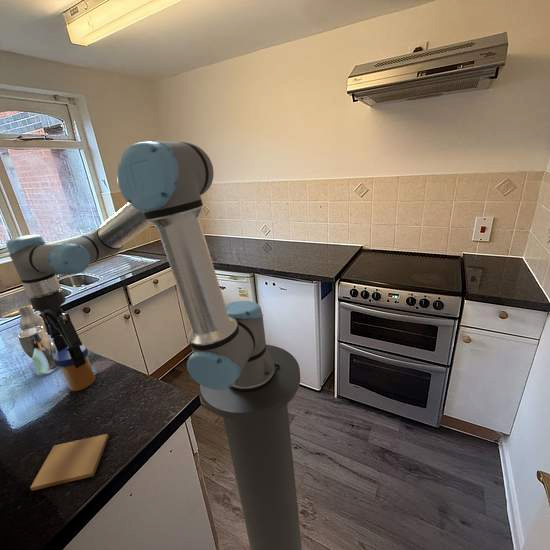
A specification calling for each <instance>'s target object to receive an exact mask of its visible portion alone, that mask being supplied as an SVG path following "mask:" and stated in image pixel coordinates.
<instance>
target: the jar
mask: <svg viewBox="0 0 550 550" xmlns="http://www.w3.org/2000/svg"><path fill="white" fill-rule="evenodd" d="M84 359H85V361H86V364H84V365H82V366H80V367H78V368H75V366H74V365H71V366H67V367H59V370H60V371H61V373H62V376H63V378H64V380H65V383H66V385H67V388H68V389H69V391H71V392H78V391H82V390H84V389H86V388H89V387H90V386H91V385H92V384H94V383H95V381H96V379H97V378H96V374H95V372H94V370H93V366H92V364H91V362H90V358H89V356H88V355H87V356H86V357H85V358H84Z"/></svg>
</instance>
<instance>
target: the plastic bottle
mask: <svg viewBox="0 0 550 550" xmlns="http://www.w3.org/2000/svg"><path fill="white" fill-rule="evenodd" d="M18 313H19V316H20V320H19V328H20V329H21V332H22V331H24V330H26V329H29V328H32V327H36V326H42V327H43V329H44V331H45V332H46V334H47V331H46V328H45V325H44V322H43V318H42V315H39V314H37V313H35V310H34V309H33V307H32V305H28V306H27V305H26V306H23V307H21V308H19V309H18ZM47 336H48V338H49V341H50V344H51V350H52V355H53V357H54V356H55V355H56V354H57V349H56V347H55V344H54V343H53V342H52V341H51V339H50V337H49V335H48V334H47Z"/></svg>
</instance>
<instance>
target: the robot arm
mask: <svg viewBox="0 0 550 550" xmlns="http://www.w3.org/2000/svg"><path fill="white" fill-rule="evenodd" d="M214 175H215V173H214V167H213V162H212V161H211V158H210V156H209V155H208V154H207V153H206V152H205V151H204V149H203V148H201V147H200V146H198V145H196V144H194V143H190V142H186V141H181V142H180V141H179V142H176V141H164V140H163V141H162V140H161V141H160V140H155V139H154V140H147V141H139V142H136V143H133V144H132V145H129V146H128V147H126V149H125V150H124V151H123V153H121V156H120V160H119V162H118V164H117V169H116V180H117V185H118V188H119V192H120V193H121V195H122V197H123V198H124V200H125V201H126V202H127V203H126V204H125V205H124V206H123V207H121V208H120V209H119V210H118V211H117V212H115V213H114V214H113V215H112V216H110V217H109V218H108V219H106V220H105V221H104V222H103V223H102V224H101V225H100V226H99V227H97V228H96V229H95V230H94V231H92V232H90V233H87V234H84V235H80V236H78V237H74V238H71V239H67V240H64V241H61V242H58V243H46V241H45V239H44V237H43V236H41V235H40V234H27V235H22V236H17V237H14V238H10V239H8V240H7V241H6V248H7V250H8V253H9V257H10V259H11V262H12V264H13V265H14V268H15V271H16V272H17V274H18V276H19V279H20V280H21V285H22V287H23V289H24V291H25V294H26V296H27V297H29V298H28V299H29V302H30V304H31V305H30V306H32V308H33V310H34V311H36V312H40V316H41V317H42V318H43V322H44V326H45V330H46V333H47V335H48V336H50V338H51V339H52V343H53V345H54V347H55V349H56V352H57V353H58V352H59V351H61V350H62V349H64V348H67V347H68V349H66V350H67V351H69V354H70V356H71V358H72V361H73V363H74V366H75V368H78V367H80V366H82V365H84V364H86V361H85V359H84V356H83V353H82V351H81V348H80V346H81V345H82V344H83V342H82V340H81V338H80V337H79V334H78V332H77V330H76V328H75V326H74V323H73V322H72V319H71V317H70V314H69V313H68V312H65V310H64V309H63V308H61V306H62V305H63V304H64V303H66V300H67V298H66V296H65V293H64V289H62V287H61V284H60V281H59V280H60V275H64V276H65V275H66V276H67V275H68V276H70V275H78V274H81V273H83V272H84V271H85V270H87V268H88V267H89V265H90V264H93V263H95V262H97V261H99V260H102V259H105V258H107V257H109V256H113V255H115V254H117V253H119V252H121V251H122V250H123V248H124V245H125V244H127V243H128V242H130V241H131V240H132V239H134V238H135V237H137V236H138V235H139V234H141V233H142V232H143V231H145V230H146V229H147V228H150V226H151V225H152V226H154V227H155V228H156V231H157V232H158V236H159V238H160V241H161V244H162V247H163V249H164V253H165V255H166V259H167V261H168V264H169V267H170V270H171V273H172V275H173V278H174V281H175V284H176V287H177V290H178V293H179V296H180V299H181V301H182V304H183V306H184V310H185V313H186V315H187V319H188V321H189V325H190V327H191V330H190V332H189V334H188V336H187V339H188V343H189V345H190V348H191V352H192V354H190V355H189V357H188V360H187V362H186V369H187V372H188V374H189V376H190V377H191V378H192V380H194V382H196V383H197V384H198V385H200V384H201V385H202V386H204V387H206V388H209V389H212V390H225V389H228V388H232V389H234V390H236V391H241V392H249V391H255V390H258V389H260V388H263V387H264V386H266V385H267V384H269V383H270V382H271V381H272V379H273V378H274V375H275V367H280V365H279V364H275V363H274V362H273V360H272V358H271V356H270V354H269V352H268V350H267V349H266V345H267V343H266V333H265V325H264V314H263V312H262V310H263V309H262V307H261V305H260V304H258V303H257V302H255V301H250V300H237V301H231V302H228V303H226V302H225V300H224V296H223V293H222V291H221V286H220V284H219V279H218V277H217V273H216V270H215V267H214V263H213V260H212V257H211V253H210V249H209V246H208V243H207V239H206V236H205V234H204V233H205V232H204V229H203V227H202V223H201V220H200V214H201V212H202V210H203V209H204V204H203V201H202V200H203V199H202V196H203V195H204V194H205V193H207V192H208V190H209V188H211V186H212V184H213V181H214Z"/></svg>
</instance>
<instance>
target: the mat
mask: <svg viewBox="0 0 550 550" xmlns="http://www.w3.org/2000/svg"><path fill="white" fill-rule="evenodd" d="M109 438H110V436H109V434H108V433H105V434H100V435H95V436H91V437H87V438H81V439H78V440H73V441H69V442H68V441H67V442H63V443H59V444H55V445H53V446H52V449H51V450H50V452H49V454H48V455H47V457H46V459H45V460H44V462H43V464H42V466H41V468H40V469H39V471H38V473H37V475H36V477H35V478H34V480H33V482H32V484H31V485H30V487H29V488H30V490H31V491H36V490H37V491H38V490H41V489H45V488H46V489H47V488H50V487H54V486H58V485H62V484H67V483H71V482H74V481H80V480H83V479H87V478H93V477H94V476H95V474H96V472H97V469H98V466H99V464H100V461H101V458H102V455H103V453H104V450H105V448H106V445H107V443H108V440H109Z"/></svg>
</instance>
